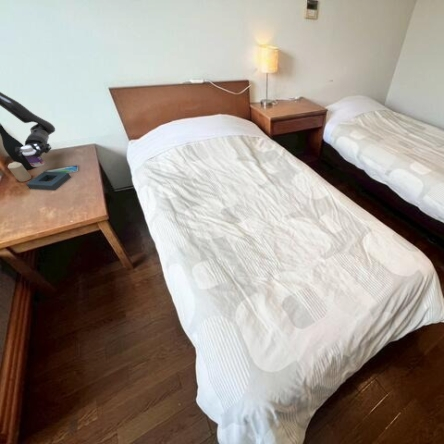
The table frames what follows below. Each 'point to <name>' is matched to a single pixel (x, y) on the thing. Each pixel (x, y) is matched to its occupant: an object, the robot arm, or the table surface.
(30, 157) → the pill bottle
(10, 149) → the wine bottle
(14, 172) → the candle
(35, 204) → the table surface
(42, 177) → the socket pad
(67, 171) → the smartphone
